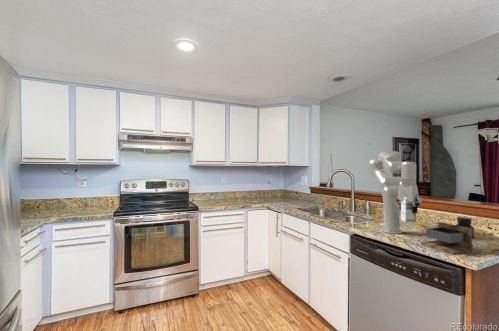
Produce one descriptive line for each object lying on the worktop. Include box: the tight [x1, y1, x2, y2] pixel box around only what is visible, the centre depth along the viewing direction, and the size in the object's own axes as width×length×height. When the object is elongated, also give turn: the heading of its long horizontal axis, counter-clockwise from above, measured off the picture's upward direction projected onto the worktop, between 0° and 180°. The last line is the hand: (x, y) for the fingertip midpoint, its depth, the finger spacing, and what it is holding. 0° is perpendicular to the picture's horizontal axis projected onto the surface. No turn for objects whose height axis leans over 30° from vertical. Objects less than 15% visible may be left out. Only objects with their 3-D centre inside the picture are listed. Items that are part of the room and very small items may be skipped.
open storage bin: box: [425, 227, 466, 243], centre depth 129 cm, size 12×12×4 cm
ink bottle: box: [455, 216, 475, 239], centre depth 152 cm, size 10×9×12 cm
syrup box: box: [400, 197, 417, 223], centre depth 141 cm, size 6×6×14 cm
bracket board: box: [420, 221, 473, 255], centre depth 129 cm, size 16×15×12 cm
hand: (408, 211), depth 141 cm, fingers closed on syrup box, 7 cm apart
